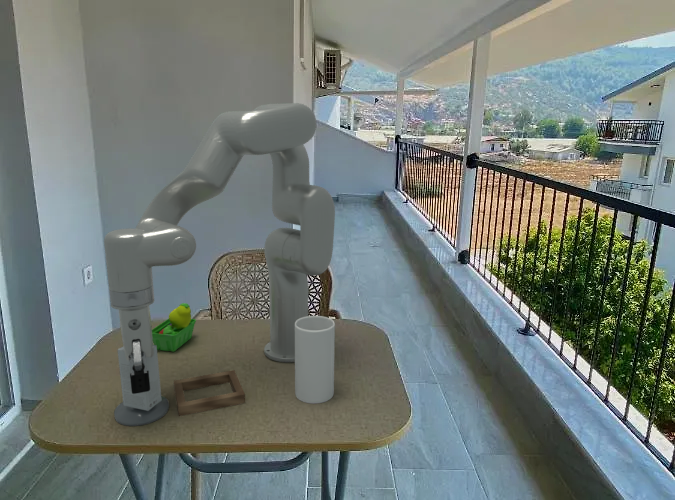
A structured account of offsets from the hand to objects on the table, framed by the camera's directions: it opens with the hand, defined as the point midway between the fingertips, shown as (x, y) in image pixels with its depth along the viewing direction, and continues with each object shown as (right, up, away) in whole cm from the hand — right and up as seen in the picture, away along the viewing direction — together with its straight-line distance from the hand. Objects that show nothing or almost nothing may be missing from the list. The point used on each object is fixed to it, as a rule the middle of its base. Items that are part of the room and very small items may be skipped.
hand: (140, 381), depth 94 cm
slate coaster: (0, -6, +1) cm, 6 cm away
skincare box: (0, -5, +1) cm, 5 cm away
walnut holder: (+11, -5, +7) cm, 14 cm away
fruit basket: (-4, +1, +32) cm, 32 cm away
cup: (+33, -5, +9) cm, 35 cm away
